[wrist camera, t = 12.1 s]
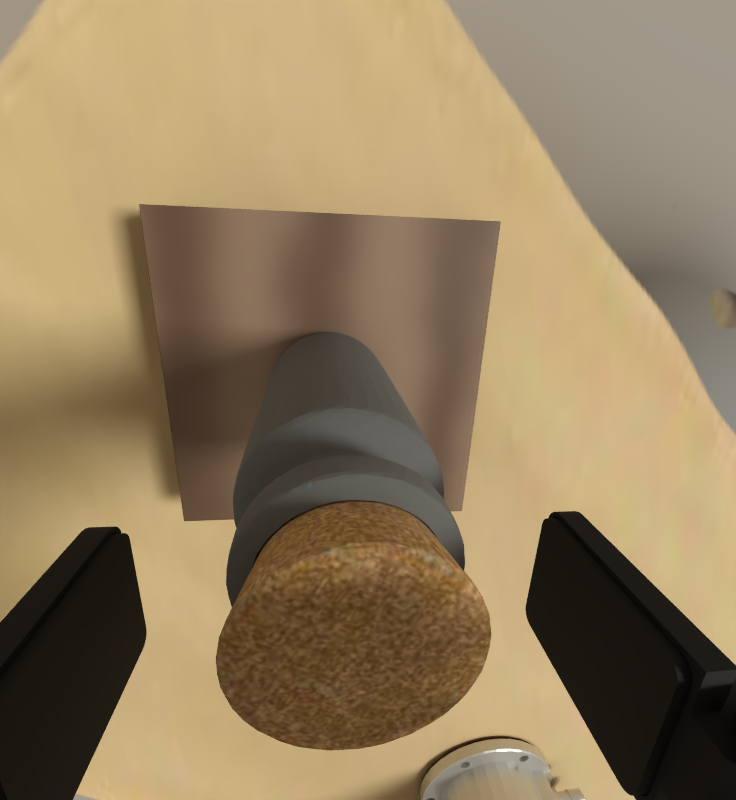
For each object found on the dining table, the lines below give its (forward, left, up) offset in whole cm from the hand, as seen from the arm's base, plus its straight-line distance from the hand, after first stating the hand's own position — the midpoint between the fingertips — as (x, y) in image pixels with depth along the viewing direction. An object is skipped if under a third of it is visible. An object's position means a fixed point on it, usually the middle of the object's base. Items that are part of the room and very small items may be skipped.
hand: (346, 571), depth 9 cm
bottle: (0, 0, -13) cm, 13 cm away
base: (0, 0, -16) cm, 16 cm away
